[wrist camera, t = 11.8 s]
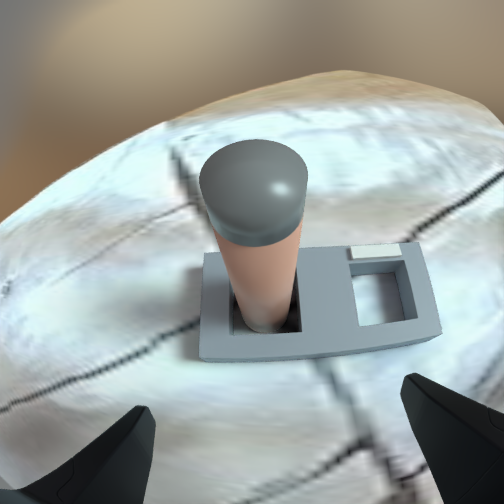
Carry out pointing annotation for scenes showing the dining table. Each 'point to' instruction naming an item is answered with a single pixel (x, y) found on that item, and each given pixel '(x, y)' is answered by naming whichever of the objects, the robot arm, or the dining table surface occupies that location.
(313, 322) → the socket plate
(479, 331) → the dining table surface
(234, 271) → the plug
